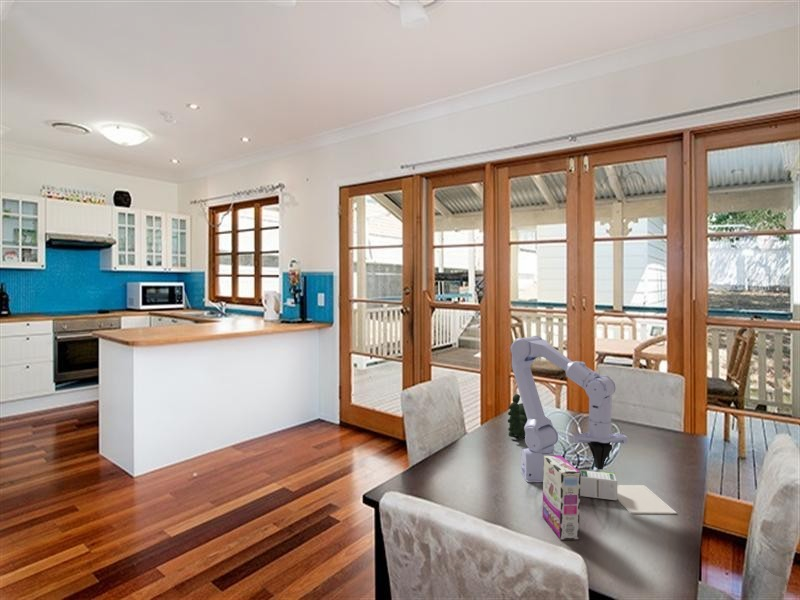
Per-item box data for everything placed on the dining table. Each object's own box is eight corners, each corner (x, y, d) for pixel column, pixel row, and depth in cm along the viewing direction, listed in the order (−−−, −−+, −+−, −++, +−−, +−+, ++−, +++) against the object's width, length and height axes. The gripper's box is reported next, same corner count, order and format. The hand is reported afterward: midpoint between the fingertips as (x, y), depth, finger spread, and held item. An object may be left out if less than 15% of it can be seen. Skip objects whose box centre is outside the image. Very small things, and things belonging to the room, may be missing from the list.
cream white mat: (630, 513, 119) (630, 512, 119) (604, 486, 135) (604, 484, 135) (676, 514, 119) (676, 512, 119) (644, 486, 135) (644, 485, 135)
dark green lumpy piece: (526, 449, 169) (539, 424, 191) (525, 400, 167) (539, 381, 189) (501, 444, 174) (517, 421, 196) (500, 397, 172) (516, 379, 193)
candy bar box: (580, 540, 107) (581, 472, 106) (560, 541, 106) (561, 472, 106) (560, 515, 118) (561, 454, 117) (541, 516, 118) (542, 454, 117)
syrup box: (617, 480, 125) (561, 473, 130) (617, 501, 125) (561, 493, 130) (615, 472, 130) (561, 466, 135) (615, 492, 131) (561, 485, 135)
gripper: (579, 424, 122) (578, 473, 123) (633, 424, 122) (632, 474, 123) (569, 416, 129) (569, 463, 130) (620, 417, 129) (619, 463, 130)
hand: (598, 467), depth 127 cm, fingers closed
